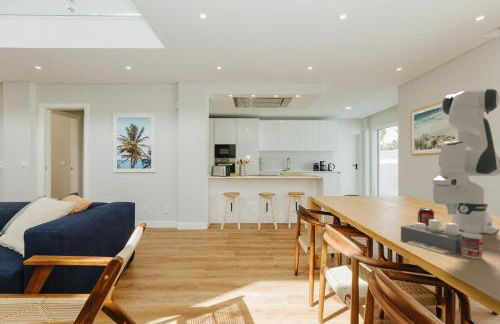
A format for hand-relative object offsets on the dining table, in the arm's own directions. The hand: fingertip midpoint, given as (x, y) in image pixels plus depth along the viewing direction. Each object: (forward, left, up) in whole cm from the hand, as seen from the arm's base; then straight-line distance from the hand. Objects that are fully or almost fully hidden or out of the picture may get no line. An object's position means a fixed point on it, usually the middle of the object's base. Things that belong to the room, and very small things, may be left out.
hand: (452, 214), depth 108 cm
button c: (0, 0, -10) cm, 10 cm away
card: (+8, -5, -14) cm, 17 cm away
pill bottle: (+4, +8, -14) cm, 17 cm away
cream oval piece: (0, -13, -13) cm, 18 cm away
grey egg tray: (0, -7, -14) cm, 15 cm away
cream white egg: (0, -7, -10) cm, 12 cm away
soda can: (-14, -19, -14) cm, 28 cm away
